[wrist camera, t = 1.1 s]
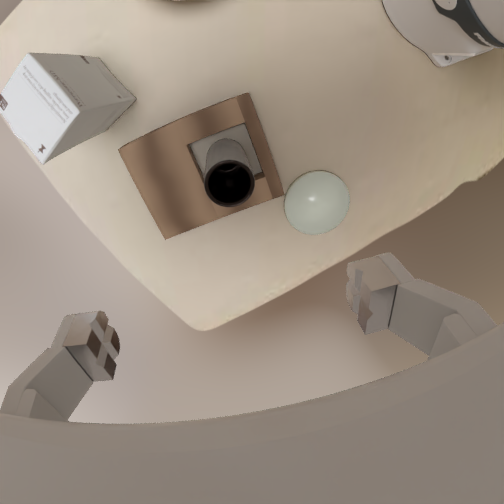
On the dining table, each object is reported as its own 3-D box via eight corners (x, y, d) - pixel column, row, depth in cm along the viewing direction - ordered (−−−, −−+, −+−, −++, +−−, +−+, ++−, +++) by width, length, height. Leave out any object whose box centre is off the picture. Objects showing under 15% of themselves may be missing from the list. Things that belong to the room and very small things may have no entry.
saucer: (340, 161, 36) (342, 163, 36) (352, 219, 41) (354, 222, 41) (275, 183, 37) (276, 185, 37) (294, 240, 42) (295, 243, 41)
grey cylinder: (220, 181, 36) (222, 216, 28) (199, 151, 34) (193, 178, 25) (251, 161, 35) (264, 191, 27) (231, 131, 33) (237, 150, 24)
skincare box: (138, 98, 29) (87, 112, 17) (103, 133, 31) (43, 170, 18) (96, 54, 25) (28, 47, 13) (63, 91, 27) (-11, 107, 14)
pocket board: (247, 92, 31) (248, 93, 29) (281, 189, 38) (284, 194, 36) (122, 146, 32) (117, 149, 30) (167, 232, 39) (165, 239, 37)
